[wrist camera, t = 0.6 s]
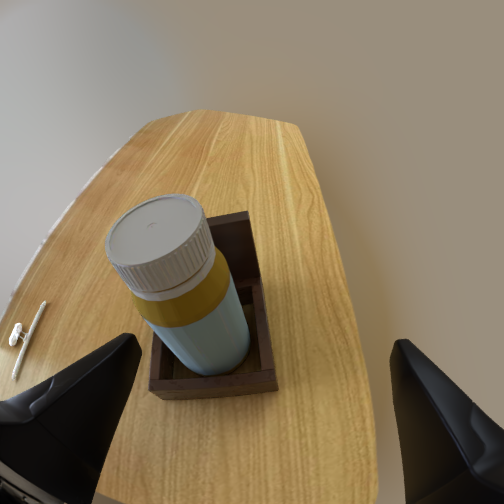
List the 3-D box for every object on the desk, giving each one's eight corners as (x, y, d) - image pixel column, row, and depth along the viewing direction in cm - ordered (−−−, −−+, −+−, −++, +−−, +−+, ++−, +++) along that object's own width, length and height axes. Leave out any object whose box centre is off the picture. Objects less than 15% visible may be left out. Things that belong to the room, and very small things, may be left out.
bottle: (209, 305, 29) (156, 183, 18) (265, 333, 25) (235, 200, 15) (168, 356, 25) (81, 247, 14) (224, 392, 22) (145, 292, 11)
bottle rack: (278, 390, 21) (266, 340, 14) (162, 400, 22) (99, 355, 15) (262, 285, 30) (248, 210, 23) (170, 299, 30) (131, 233, 23)
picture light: (15, 382, 23) (4, 375, 21) (2, 374, 23) (-7, 367, 22) (48, 302, 32) (40, 293, 31) (34, 300, 33) (26, 292, 32)
